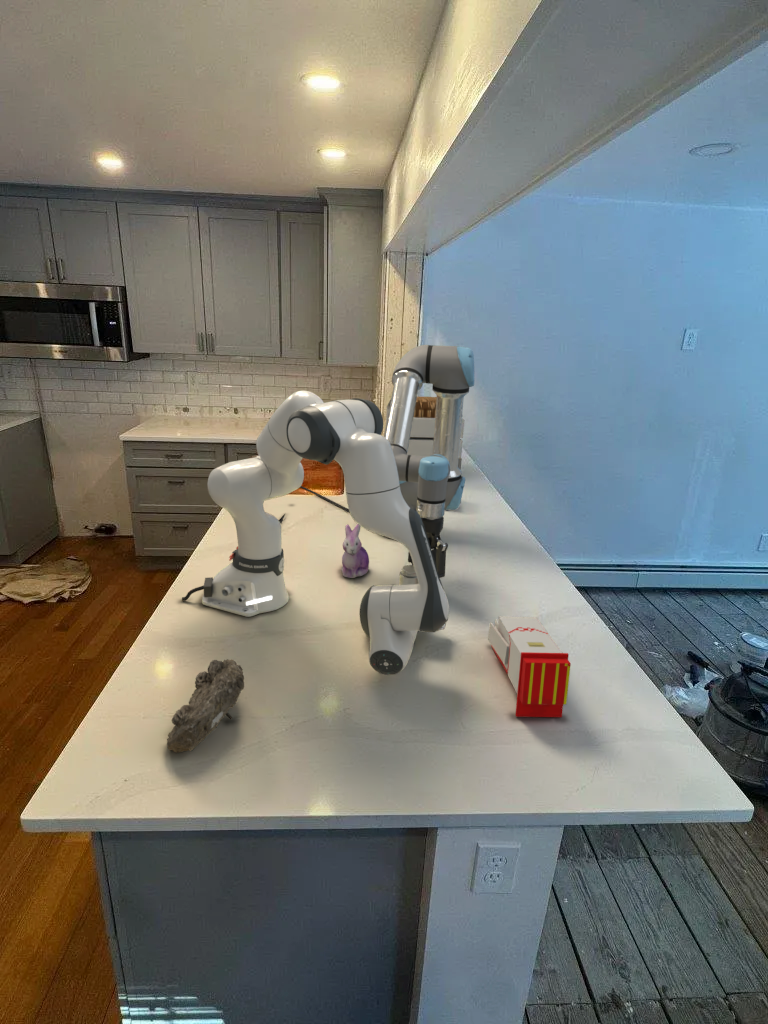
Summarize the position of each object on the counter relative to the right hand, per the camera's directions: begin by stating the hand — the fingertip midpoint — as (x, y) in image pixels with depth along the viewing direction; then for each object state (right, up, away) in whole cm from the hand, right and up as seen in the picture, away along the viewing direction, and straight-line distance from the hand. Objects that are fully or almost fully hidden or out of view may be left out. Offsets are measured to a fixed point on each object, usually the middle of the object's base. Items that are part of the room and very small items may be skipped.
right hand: (423, 592), depth 159 cm
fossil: (-44, -16, -51) cm, 69 cm away
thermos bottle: (-5, -5, -14) cm, 16 cm away
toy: (+19, -13, -34) cm, 41 cm away
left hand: (-5, +1, -16) cm, 16 cm away
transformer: (+6, +41, +116) cm, 123 cm away
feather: (-48, +21, +52) cm, 74 cm away
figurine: (-20, +5, +11) cm, 23 cm away
